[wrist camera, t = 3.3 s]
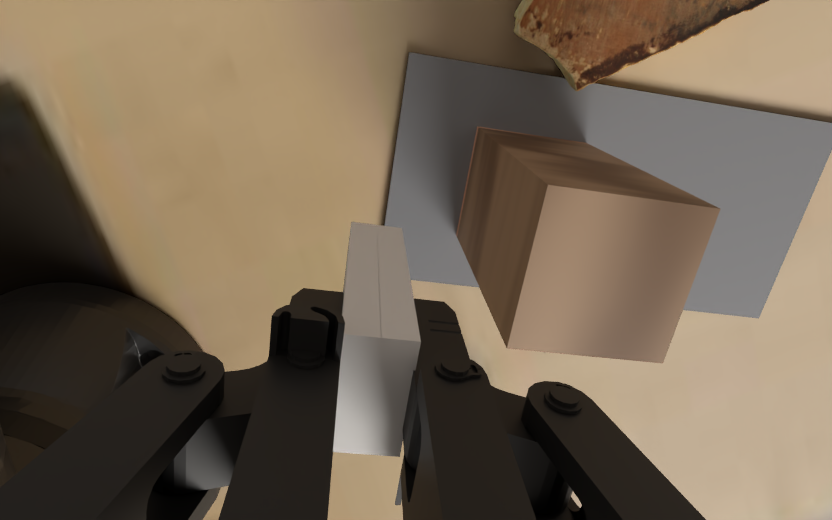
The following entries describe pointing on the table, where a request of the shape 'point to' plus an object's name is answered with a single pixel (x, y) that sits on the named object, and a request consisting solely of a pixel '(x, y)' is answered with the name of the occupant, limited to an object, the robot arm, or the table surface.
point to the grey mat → (622, 138)
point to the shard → (615, 30)
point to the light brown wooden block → (579, 246)
